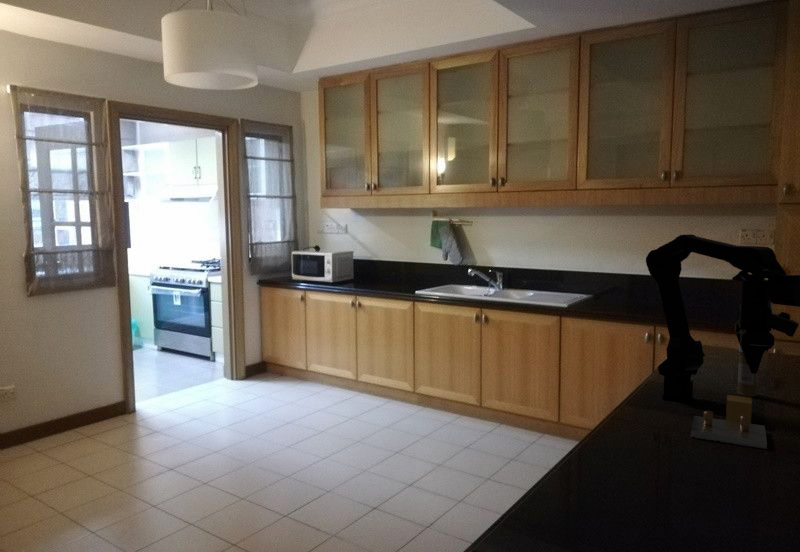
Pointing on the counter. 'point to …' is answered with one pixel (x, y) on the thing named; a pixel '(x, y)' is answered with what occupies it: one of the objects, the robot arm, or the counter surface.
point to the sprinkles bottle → (745, 378)
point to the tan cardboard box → (738, 408)
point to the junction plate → (729, 431)
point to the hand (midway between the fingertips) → (751, 368)
